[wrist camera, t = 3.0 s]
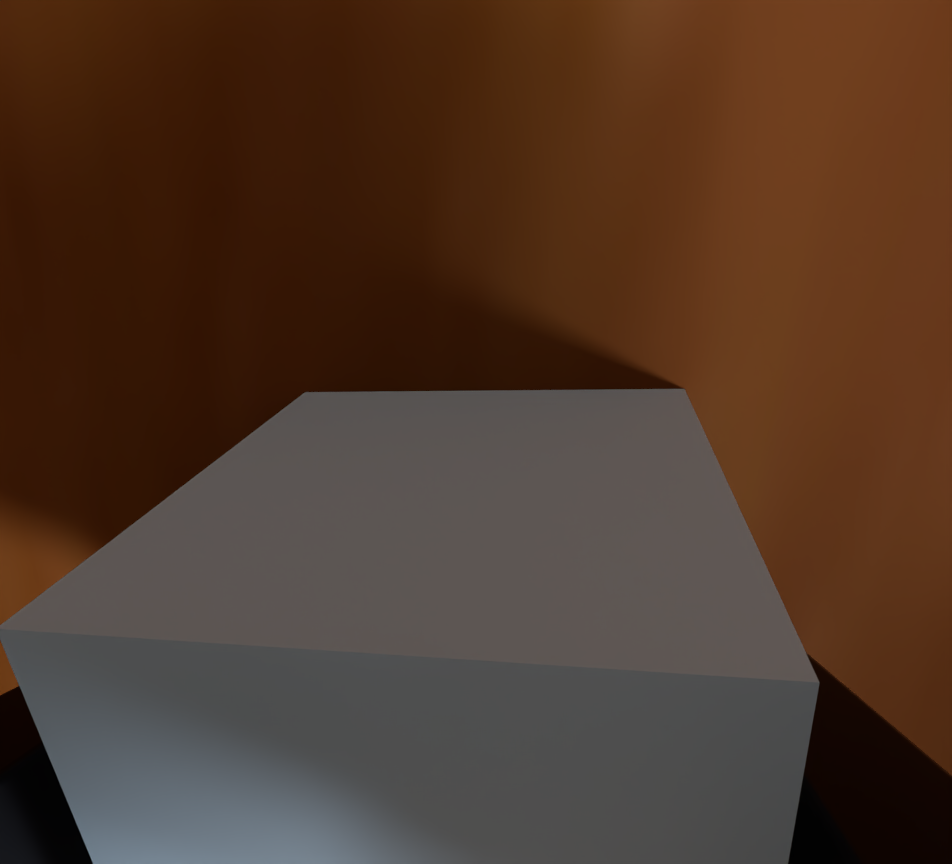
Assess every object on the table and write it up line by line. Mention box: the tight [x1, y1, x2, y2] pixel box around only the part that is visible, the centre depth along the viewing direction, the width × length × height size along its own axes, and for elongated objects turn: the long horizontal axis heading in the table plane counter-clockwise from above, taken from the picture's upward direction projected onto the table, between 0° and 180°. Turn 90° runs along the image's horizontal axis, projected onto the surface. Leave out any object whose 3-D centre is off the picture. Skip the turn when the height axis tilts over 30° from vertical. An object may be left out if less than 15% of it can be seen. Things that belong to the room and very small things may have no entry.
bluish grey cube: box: [0, 389, 819, 864], centre depth 7 cm, size 5×5×5 cm
